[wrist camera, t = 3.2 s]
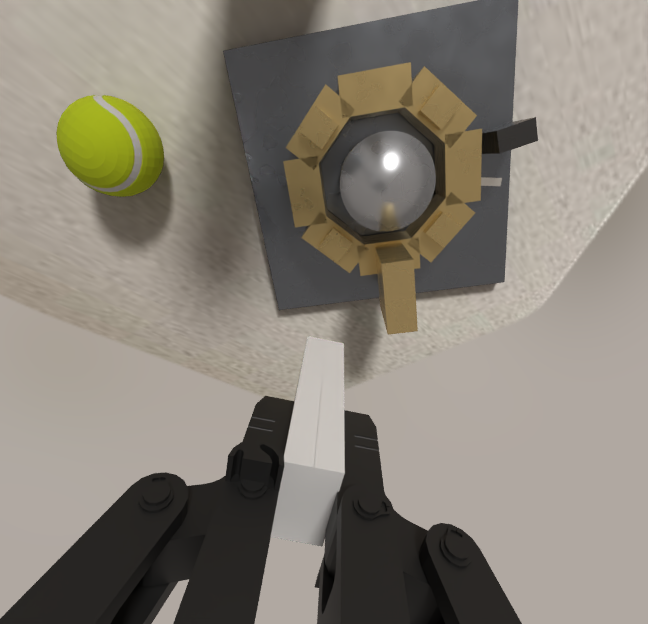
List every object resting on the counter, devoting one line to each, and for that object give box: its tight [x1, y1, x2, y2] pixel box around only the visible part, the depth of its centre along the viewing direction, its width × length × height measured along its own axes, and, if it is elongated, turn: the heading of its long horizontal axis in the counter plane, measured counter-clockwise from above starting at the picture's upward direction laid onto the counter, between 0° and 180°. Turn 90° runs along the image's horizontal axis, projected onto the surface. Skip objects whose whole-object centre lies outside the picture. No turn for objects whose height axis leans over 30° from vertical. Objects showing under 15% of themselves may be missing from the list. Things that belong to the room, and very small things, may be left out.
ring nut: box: [283, 62, 482, 334], centre depth 25 cm, size 16×13×8 cm
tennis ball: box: [57, 95, 164, 197], centre depth 26 cm, size 7×7×7 cm
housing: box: [223, 0, 538, 310], centre depth 26 cm, size 20×20×7 cm
